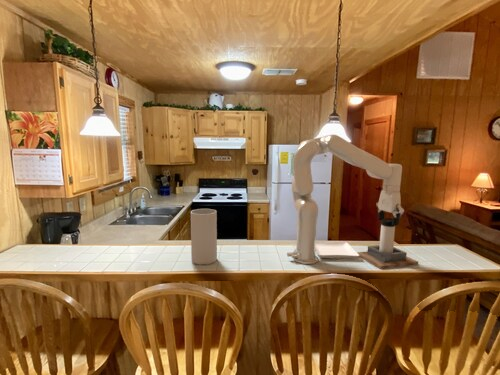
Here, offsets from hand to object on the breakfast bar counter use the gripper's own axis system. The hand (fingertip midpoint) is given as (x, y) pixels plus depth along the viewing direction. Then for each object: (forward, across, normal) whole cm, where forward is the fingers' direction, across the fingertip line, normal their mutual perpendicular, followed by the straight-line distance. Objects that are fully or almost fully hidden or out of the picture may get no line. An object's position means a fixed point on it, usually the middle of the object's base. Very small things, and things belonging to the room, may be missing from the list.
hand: (387, 222), depth 137 cm
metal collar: (+18, 0, +1) cm, 18 cm away
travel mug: (+18, 0, +1) cm, 18 cm away
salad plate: (+21, -15, -20) cm, 32 cm away
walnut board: (+20, 0, +1) cm, 20 cm away
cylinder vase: (+22, -21, -89) cm, 94 cm away
